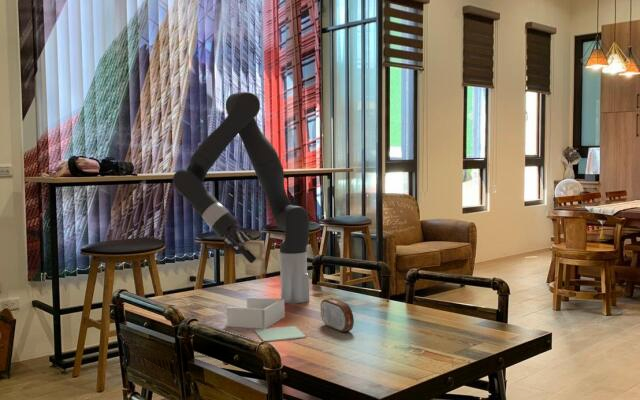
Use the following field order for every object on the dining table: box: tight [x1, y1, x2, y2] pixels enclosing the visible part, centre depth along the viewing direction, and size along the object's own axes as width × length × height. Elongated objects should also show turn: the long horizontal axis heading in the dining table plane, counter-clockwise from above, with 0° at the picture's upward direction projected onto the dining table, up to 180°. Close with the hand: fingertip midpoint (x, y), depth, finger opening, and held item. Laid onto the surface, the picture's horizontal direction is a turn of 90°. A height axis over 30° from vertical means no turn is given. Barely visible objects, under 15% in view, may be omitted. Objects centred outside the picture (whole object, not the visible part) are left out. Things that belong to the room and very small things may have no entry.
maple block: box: [244, 239, 266, 276], centre depth 204 cm, size 4×4×10 cm
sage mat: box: [254, 325, 307, 343], centre depth 190 cm, size 12×12×1 cm
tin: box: [320, 297, 355, 333], centre depth 195 cm, size 15×3×8 cm, turn 29°
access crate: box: [225, 296, 285, 329], centre depth 206 cm, size 13×15×6 cm
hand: (257, 259), depth 204 cm, fingers closed on maple block, 4 cm apart
